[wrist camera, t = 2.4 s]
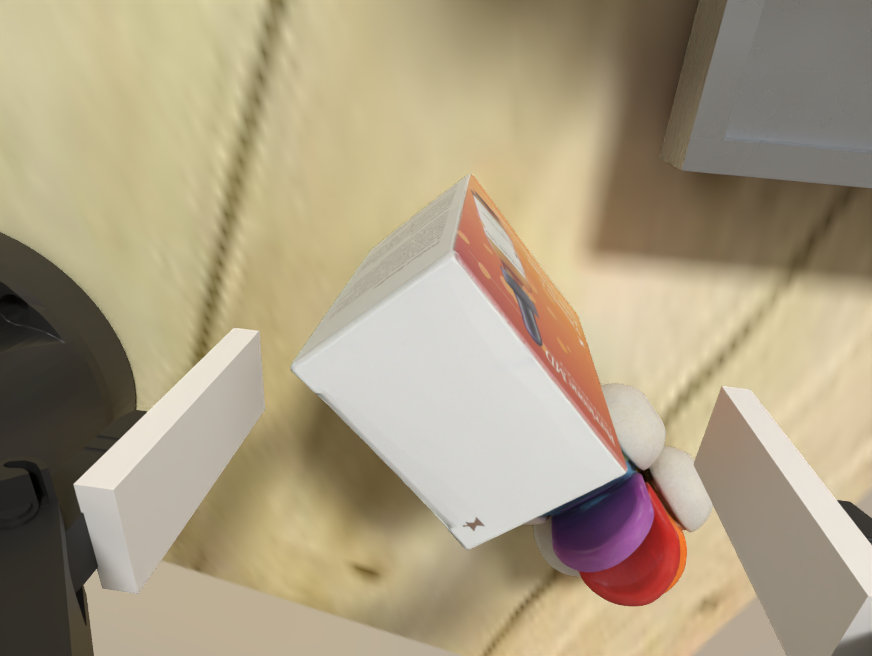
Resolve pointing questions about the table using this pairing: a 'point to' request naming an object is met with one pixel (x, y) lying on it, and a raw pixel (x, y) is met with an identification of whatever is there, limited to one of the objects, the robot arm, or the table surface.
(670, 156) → the grey storage bin
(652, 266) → the table surface
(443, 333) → the small box
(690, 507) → the rainbow segmented toy
